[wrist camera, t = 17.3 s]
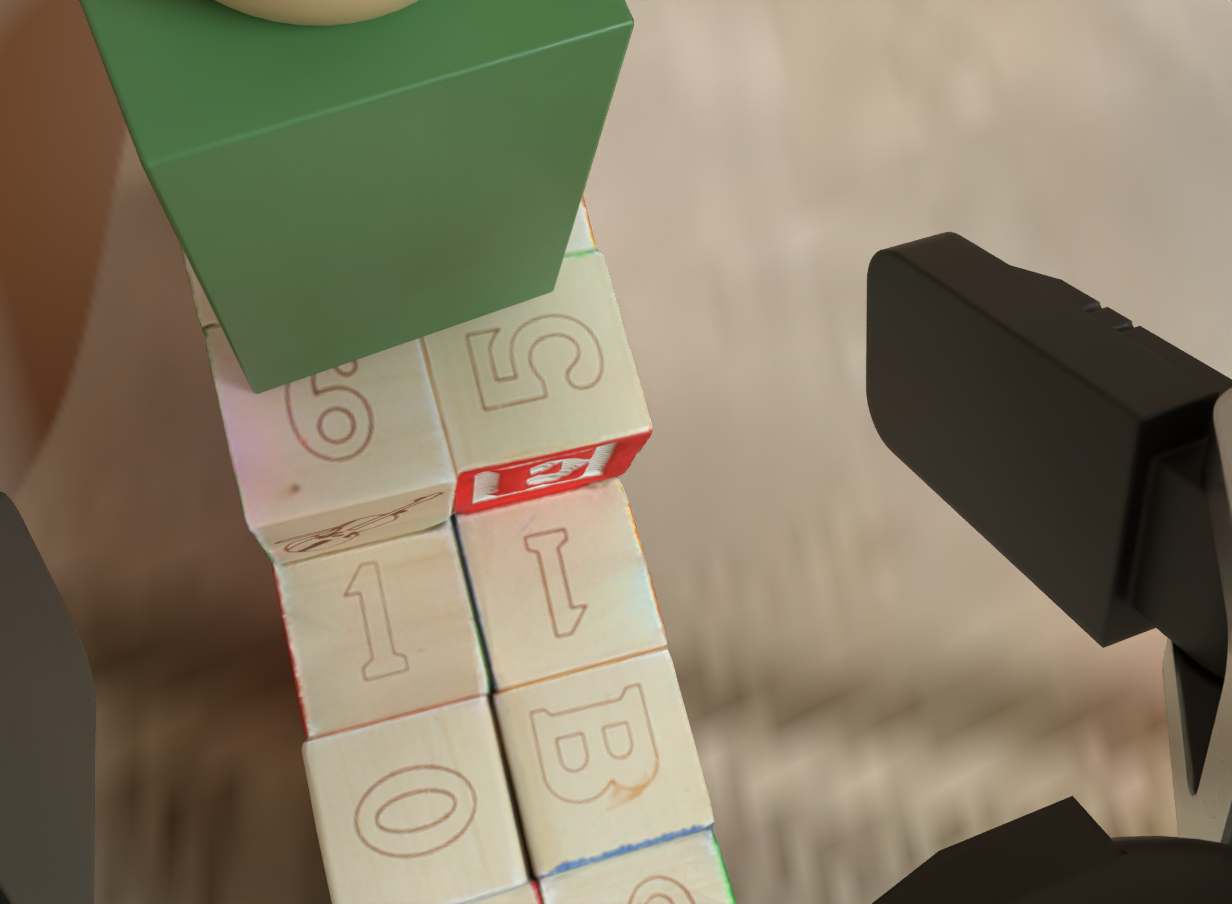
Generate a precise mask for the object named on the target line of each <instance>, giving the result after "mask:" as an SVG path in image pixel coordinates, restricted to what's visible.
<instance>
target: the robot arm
mask: <svg viewBox="0 0 1232 904" xmlns="http://www.w3.org/2000/svg"><path fill="white" fill-rule="evenodd" d="M866 392H867V401H868V406H869V411H870V414H871V417H872V420H873V423H874V425H875V428H876V430H877V432H878V434H879V435H880V437H881V439H882V440H883V442H884V443H885V445H886V446H887V447H888V448H889V449H890V450H891V451H892V452H893V453H894V454H895V455H896V456H897V457H898V458H899V459H900V460H901V461H903V462H904V463H905V464H906V465H907V466H908V467H909V468H910V469H911V470H912V471H913V472H914V473H915V474H916V475H918V476H919V477H920V478H921V479H922V480H923V481H924V482H925V483H926V484H927V485H928V486H929V487H930V488H932V489H933V490H934V491H935V492H936V493H937V494H938V495H939V496H940V497H941V498H942V499H943V500H944V501H946V502H947V503H948V504H949V505H950V506H951V507H952V508H953V509H954V510H955V511H956V512H957V513H958V514H960V515H961V516H962V517H963V518H964V519H965V520H966V521H967V522H968V523H969V524H970V525H971V526H972V527H974V528H975V529H976V530H977V531H978V532H979V533H980V534H981V535H982V536H983V537H984V538H985V539H986V540H988V541H989V542H990V543H991V544H992V545H993V546H994V547H995V548H996V549H997V550H998V551H999V552H1000V553H1002V554H1003V555H1004V556H1005V557H1006V558H1007V559H1008V560H1009V561H1010V562H1011V563H1012V564H1013V565H1014V566H1016V567H1017V568H1018V569H1019V570H1020V571H1021V572H1022V573H1023V574H1024V575H1025V576H1026V577H1027V578H1028V579H1030V580H1031V581H1032V582H1033V583H1034V584H1035V585H1036V586H1037V587H1038V588H1039V589H1040V590H1041V591H1042V592H1043V593H1045V594H1046V595H1047V596H1048V597H1049V598H1050V599H1051V600H1052V601H1053V602H1054V603H1055V604H1056V605H1057V606H1059V607H1060V608H1061V609H1062V610H1063V611H1064V612H1065V613H1066V614H1067V615H1068V616H1069V617H1070V618H1071V619H1073V620H1074V621H1075V622H1076V623H1077V624H1078V625H1079V626H1080V627H1081V628H1082V629H1083V630H1084V631H1085V632H1087V633H1088V634H1089V635H1090V636H1091V637H1092V638H1093V639H1094V640H1095V641H1096V642H1097V643H1098V644H1099V645H1101V646H1102V647H1103V648H1104V647H1107V646H1109V645H1112V644H1114V643H1117V642H1120V641H1122V640H1125V639H1127V638H1130V637H1133V636H1135V635H1138V634H1141V633H1143V632H1146V631H1148V630H1151V629H1154V628H1157V629H1158V630H1160V631H1161V632H1162V633H1163V634H1164V635H1165V636H1167V637H1168V639H1167V644H1166V649H1165V654H1164V659H1163V668H1162V673H1163V683H1164V693H1165V704H1166V714H1167V725H1168V735H1169V745H1170V756H1171V766H1172V776H1173V787H1174V797H1175V807H1176V818H1177V830H1178V837H1167V836H1137V837H1116V838H1110V837H1109V836H1108V835H1107V834H1106V833H1105V831H1104V830H1103V829H1102V828H1101V827H1100V826H1099V825H1098V824H1097V823H1096V821H1095V820H1094V819H1093V818H1092V817H1091V816H1090V815H1089V814H1088V813H1087V811H1086V810H1085V809H1084V808H1083V807H1082V806H1081V805H1080V804H1079V803H1078V801H1077V800H1076V799H1075V798H1074V797H1073V796H1071V797H1069V798H1066V799H1064V800H1061V801H1059V802H1057V803H1054V804H1052V805H1049V806H1047V807H1044V808H1042V809H1040V810H1037V811H1035V812H1032V813H1030V814H1028V815H1025V816H1023V817H1020V818H1018V819H1015V820H1013V821H1011V822H1008V823H1006V824H1003V825H1001V826H999V827H996V828H994V829H991V830H989V831H986V832H984V833H982V834H979V835H977V836H974V837H972V838H969V839H967V840H965V841H962V842H960V843H957V844H955V845H953V846H950V847H948V848H945V849H943V850H940V851H938V852H937V853H936V854H935V855H933V856H932V857H931V858H929V859H928V860H927V861H926V862H924V863H923V864H922V865H921V866H919V867H918V868H917V869H915V870H914V871H913V872H912V873H910V874H909V875H908V876H907V877H905V878H904V879H903V880H901V881H900V882H899V883H898V884H896V885H895V886H894V887H893V888H891V889H890V890H889V891H887V892H886V893H885V894H884V895H882V896H881V897H880V898H879V899H877V900H876V901H875V902H873V903H872V904H1232V379H1230V378H1228V377H1226V376H1225V375H1223V374H1221V373H1220V372H1218V371H1216V370H1214V369H1213V368H1211V367H1209V366H1208V365H1206V364H1204V363H1202V362H1201V361H1199V360H1197V359H1196V358H1194V357H1192V356H1191V355H1189V354H1187V353H1185V352H1184V351H1182V350H1180V349H1179V348H1177V347H1175V346H1173V345H1172V344H1170V343H1168V342H1167V341H1165V340H1163V339H1161V338H1160V337H1158V336H1156V335H1155V334H1153V333H1151V332H1149V331H1148V330H1146V329H1144V328H1143V327H1141V326H1138V327H1135V328H1134V327H1133V325H1132V321H1131V320H1129V319H1127V318H1126V317H1124V316H1122V315H1120V314H1119V313H1117V312H1115V311H1114V310H1112V309H1110V308H1108V307H1106V308H1103V309H1102V308H1101V306H1100V302H1098V301H1096V300H1095V299H1093V298H1091V297H1090V296H1088V295H1086V294H1085V293H1083V292H1081V291H1079V290H1078V289H1076V288H1074V287H1073V286H1071V285H1069V284H1067V283H1066V282H1064V281H1062V280H1060V279H1056V278H1053V277H1049V276H1046V275H1042V274H1039V273H1035V272H1032V271H1028V270H1025V269H1021V268H1018V267H1014V266H1010V265H1008V264H1007V263H1005V262H1003V261H1002V260H1000V259H998V258H997V257H995V256H993V255H992V254H990V253H988V252H987V251H985V250H983V249H982V248H980V247H978V246H977V245H975V244H973V243H972V242H970V241H968V240H967V239H965V238H963V237H962V236H960V235H958V234H956V233H953V232H945V233H941V234H937V235H934V236H930V237H926V238H923V239H919V240H916V241H912V242H908V243H905V244H901V245H898V246H894V247H890V248H887V249H883V250H880V251H878V252H877V253H876V254H875V255H874V256H873V258H872V259H871V261H870V264H869V268H868V273H867V351H866ZM95 733H96V696H95V687H94V681H93V676H92V672H91V667H90V664H89V660H88V657H87V653H86V650H85V647H84V644H83V642H82V639H81V637H80V634H79V632H78V630H77V628H76V626H75V624H74V622H73V620H72V618H71V616H70V614H69V612H68V609H67V607H66V605H65V603H64V601H63V599H62V597H61V595H60V593H59V591H58V589H57V587H56V585H55V583H54V581H53V579H52V577H51V575H50V573H49V571H48V569H47V567H46V565H45V563H44V561H43V559H42V557H41V555H40V553H39V551H38V549H37V547H36V545H35V543H34V541H33V539H32V537H31V535H30V533H29V531H28V529H27V527H26V525H25V523H24V521H23V519H22V517H21V515H20V513H19V511H18V510H17V508H16V506H15V505H14V503H13V502H12V501H11V499H10V498H9V497H8V496H7V495H6V494H4V493H2V492H0V904H94V837H95Z"/></svg>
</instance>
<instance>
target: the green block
mask: <svg viewBox="0 0 1232 904" xmlns="http://www.w3.org/2000/svg"><path fill="white" fill-rule="evenodd" d="M79 1H80V3H81V6H82V8H83V11H84V14H85V16H86V19H87V21H88V24H89V27H90V30H91V32H92V35H93V37H94V40H95V43H96V45H97V48H98V51H99V53H100V56H101V58H102V61H103V64H104V67H105V69H106V72H107V74H108V77H109V80H110V82H111V85H112V88H113V90H114V93H115V95H116V98H117V101H118V104H119V106H120V109H121V111H122V114H123V117H124V119H125V122H126V125H127V127H128V130H129V133H130V135H131V138H132V141H133V143H134V146H135V148H136V151H137V154H138V156H139V159H140V162H141V164H142V167H143V169H144V171H145V173H146V175H147V177H148V179H149V181H150V183H151V185H152V187H153V189H154V191H155V193H156V195H157V197H158V199H159V201H160V203H161V205H162V207H163V209H164V211H165V214H166V216H167V218H168V220H169V222H170V224H171V226H172V228H173V230H174V232H175V234H176V236H177V238H178V240H179V242H180V244H181V246H182V248H183V250H184V252H185V254H186V256H187V258H188V260H189V263H190V265H191V267H192V269H193V271H194V273H195V275H196V277H197V279H198V281H199V283H200V285H201V287H202V289H203V291H204V293H205V295H206V297H207V299H208V301H209V303H210V305H211V307H212V309H213V312H214V314H215V316H216V318H217V320H218V322H219V324H220V326H221V328H222V330H223V332H224V334H225V336H226V338H227V340H228V342H229V344H230V346H231V348H232V350H233V352H234V354H235V356H236V359H237V361H238V363H239V365H240V367H241V369H242V371H243V373H244V375H245V377H246V379H247V381H248V383H249V385H250V387H251V389H252V391H253V392H254V393H255V394H259V393H262V392H265V391H268V390H271V389H274V388H277V387H279V386H282V385H285V384H288V383H291V382H294V381H297V380H300V379H303V378H305V377H308V376H311V375H314V374H317V373H320V372H323V371H326V370H328V369H331V368H334V367H337V366H340V365H343V364H346V363H349V362H351V361H354V360H357V359H360V358H363V357H366V356H369V355H372V354H375V353H377V352H380V351H383V350H386V349H389V348H392V347H395V346H398V345H400V344H403V343H406V342H409V341H412V340H415V339H418V338H421V337H423V336H426V335H429V334H432V333H435V332H438V331H441V330H444V329H447V328H449V327H452V326H455V325H458V324H461V323H464V322H467V321H470V320H472V319H475V318H478V317H481V316H484V315H487V314H490V313H493V312H495V311H498V310H501V309H504V308H507V307H510V306H513V305H516V304H519V303H521V302H524V301H527V300H530V299H533V298H536V297H539V296H542V295H544V294H547V293H550V292H552V291H553V290H554V288H555V285H556V281H557V278H558V275H559V271H560V268H561V265H562V261H563V258H564V255H565V251H566V248H567V245H568V242H569V238H570V235H571V232H572V228H573V225H574V222H575V218H576V215H577V212H578V208H579V205H580V202H581V199H582V195H583V192H584V189H585V185H586V182H587V179H588V175H589V172H590V169H591V165H592V162H593V159H594V156H595V152H596V149H597V146H598V142H599V139H600V136H601V132H602V129H603V126H604V122H605V119H606V116H607V113H608V109H609V106H610V103H611V99H612V96H613V93H614V89H615V86H616V83H617V79H618V76H619V73H620V69H621V66H622V63H623V60H624V56H625V53H626V50H627V46H628V43H629V40H630V36H631V33H632V30H633V26H634V20H633V17H632V15H631V13H630V11H629V9H628V7H627V4H626V2H625V0H79Z"/></svg>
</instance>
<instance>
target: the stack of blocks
mask: <svg viewBox="0 0 1232 904" xmlns="http://www.w3.org/2000/svg"><path fill="white" fill-rule="evenodd" d="M180 245H181V244H180ZM181 250H182V254H183V259H184V263H185V267H186V272H187V276H188V281H189V285H190V289H191V294H192V298H193V302H194V306H195V309H196V312H197V315H198V318H199V321H200V324H201V326H202V329H203V332H204V335H205V337H206V351H207V355H208V360H209V364H210V369H211V373H212V377H213V382H214V386H215V391H216V395H217V399H218V404H219V408H220V413H221V417H222V421H223V426H224V431H225V435H226V440H227V444H228V449H229V454H230V458H231V463H232V467H233V471H234V475H235V480H236V484H237V488H238V493H239V497H240V501H241V506H242V512H243V517H244V522H245V524H246V526H247V527H248V529H249V531H250V532H251V533H252V534H253V536H254V537H255V538H256V540H257V541H258V543H259V544H260V546H261V547H262V549H263V550H264V552H265V553H266V555H267V556H268V557H269V558H270V560H271V561H272V570H273V576H274V580H275V584H276V589H277V594H278V599H279V604H280V610H281V615H282V620H283V625H284V630H285V635H286V640H287V645H288V650H289V655H290V660H291V665H292V669H293V675H294V680H295V685H296V690H297V696H298V701H299V706H300V711H301V716H302V720H303V725H304V731H305V737H306V738H305V740H304V743H303V746H302V748H301V750H302V755H303V761H304V766H305V771H306V777H307V782H308V787H309V793H310V798H311V803H312V809H313V814H314V819H315V825H316V830H317V835H318V840H319V845H320V849H321V854H322V859H323V864H324V868H325V873H326V878H327V883H328V887H329V892H330V897H331V902H332V904H735V900H734V896H733V892H732V888H731V884H730V881H729V877H728V874H727V870H726V867H725V864H724V861H723V858H722V855H721V851H720V848H719V845H718V843H717V840H716V838H715V836H714V833H713V824H714V821H715V820H714V815H713V810H712V805H711V801H710V797H709V794H708V790H707V787H706V783H705V779H704V776H703V772H702V768H701V765H700V761H699V757H698V753H697V750H696V746H695V742H694V739H693V735H692V732H691V728H690V724H689V721H688V717H687V714H686V710H685V706H684V703H683V699H682V695H681V692H680V688H679V685H678V681H677V677H676V673H675V669H674V665H673V662H672V658H671V656H670V654H669V652H668V650H667V642H666V634H665V629H664V623H663V620H662V617H661V614H660V610H659V606H658V602H657V598H656V594H655V591H654V587H653V584H652V580H651V577H650V573H649V570H648V566H647V563H646V560H645V557H644V553H643V550H642V546H641V543H640V539H639V536H638V532H637V529H636V525H635V521H634V518H633V514H632V511H631V507H630V504H629V501H628V499H627V496H626V493H625V490H624V488H623V486H622V484H621V483H620V481H619V480H618V478H617V477H618V476H620V475H622V474H623V473H625V472H626V470H627V469H628V468H629V467H630V465H631V463H632V461H633V459H634V458H635V457H636V455H637V454H638V453H639V452H640V451H641V449H642V447H643V446H644V445H645V443H646V442H647V440H648V439H649V438H650V436H651V433H652V431H653V427H652V423H651V419H650V415H649V412H648V408H647V405H646V401H645V398H644V394H643V391H642V388H641V384H640V381H639V377H638V374H637V370H636V367H635V363H634V360H633V356H632V353H631V349H630V346H629V342H628V339H627V335H626V332H625V328H624V325H623V321H622V318H621V314H620V310H619V307H618V303H617V300H616V296H615V293H614V289H613V285H612V282H611V278H610V275H609V271H608V268H607V264H606V261H605V257H604V256H603V255H602V254H601V253H600V252H599V250H598V249H597V248H596V245H595V242H594V238H593V233H592V229H591V225H590V221H589V217H588V213H587V209H586V205H585V201H584V198H583V195H582V199H581V202H580V205H579V208H578V212H577V215H576V218H575V222H574V225H573V228H572V232H571V235H570V238H569V242H568V245H567V248H566V251H565V255H564V258H563V261H562V265H561V268H560V271H559V275H558V278H557V281H556V285H555V288H554V290H553V291H552V292H550V293H547V294H544V295H542V296H539V297H536V298H533V299H530V300H527V301H524V302H521V303H519V304H516V305H513V306H510V307H507V308H504V309H501V310H498V311H495V312H493V313H490V314H487V315H484V316H481V317H478V318H475V319H472V320H470V321H467V322H464V323H461V324H458V325H455V326H452V327H449V328H447V329H444V330H441V331H438V332H435V333H432V334H429V335H426V336H423V337H421V338H418V339H415V340H412V341H409V342H406V343H403V344H400V345H398V346H395V347H392V348H389V349H386V350H383V351H380V352H377V353H375V354H372V355H369V356H366V357H363V358H360V359H357V360H354V361H351V362H349V363H346V364H343V365H340V366H337V367H334V368H331V369H328V370H326V371H323V372H320V373H317V374H314V375H311V376H308V377H305V378H303V379H300V380H297V381H294V382H291V383H288V384H285V385H282V386H279V387H277V388H274V389H271V390H268V391H265V392H262V393H259V394H255V393H254V392H253V391H252V389H251V387H250V385H249V383H248V381H247V379H246V377H245V375H244V373H243V371H242V369H241V367H240V365H239V363H238V361H237V359H236V356H235V354H234V352H233V350H232V348H231V346H230V344H229V342H228V340H227V338H226V336H225V334H224V332H223V330H222V328H221V326H220V324H219V322H218V320H217V318H216V316H215V314H214V312H213V309H212V307H211V305H210V303H209V301H208V299H207V297H206V295H205V293H204V291H203V289H202V287H201V285H200V283H199V281H198V279H197V277H196V275H195V273H194V271H193V269H192V267H191V265H190V263H189V260H188V258H187V256H186V254H185V252H184V250H183V248H182V246H181Z"/></svg>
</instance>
